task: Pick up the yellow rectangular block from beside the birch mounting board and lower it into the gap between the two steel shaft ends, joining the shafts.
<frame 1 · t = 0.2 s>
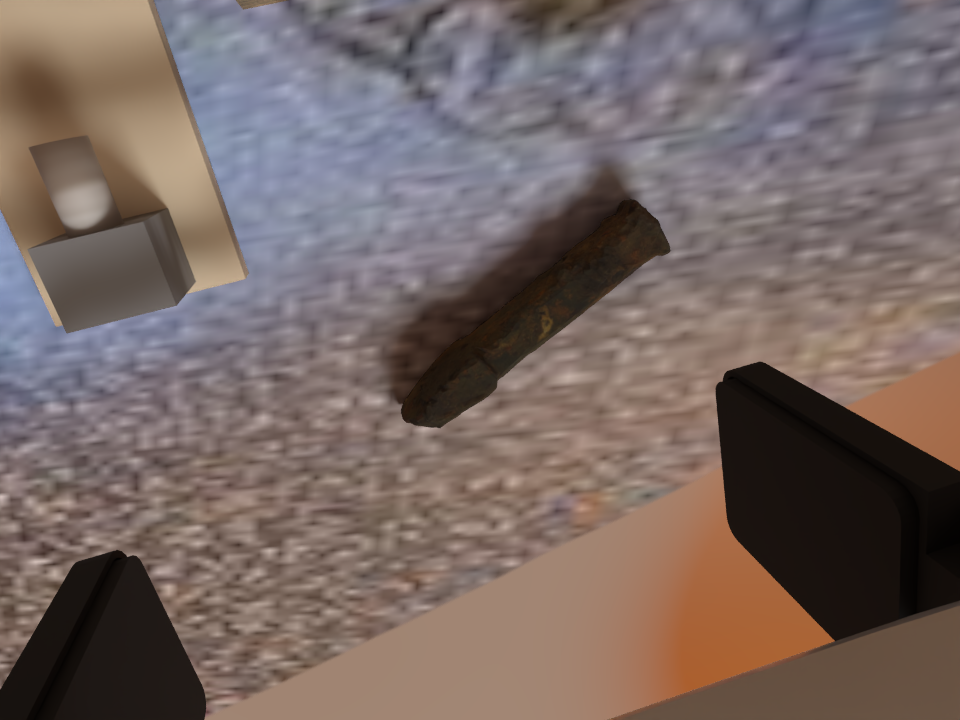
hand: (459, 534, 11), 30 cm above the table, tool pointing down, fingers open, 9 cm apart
hand tool: (522, 317, 43), on the table
shaft mount: (69, 75, 33), on the table
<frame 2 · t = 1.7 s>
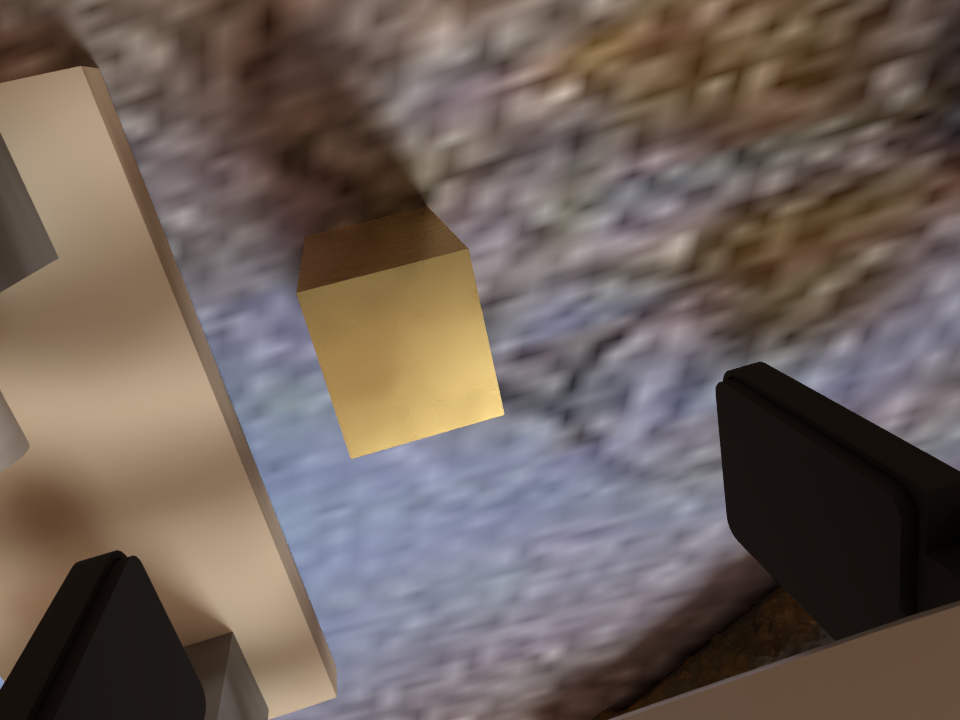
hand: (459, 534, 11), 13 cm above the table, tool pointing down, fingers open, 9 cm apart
hand tool: (686, 667, 33), on the table
shaft mount: (91, 467, 23), on the table
yellow rectangular block: (384, 285, 23), on the table
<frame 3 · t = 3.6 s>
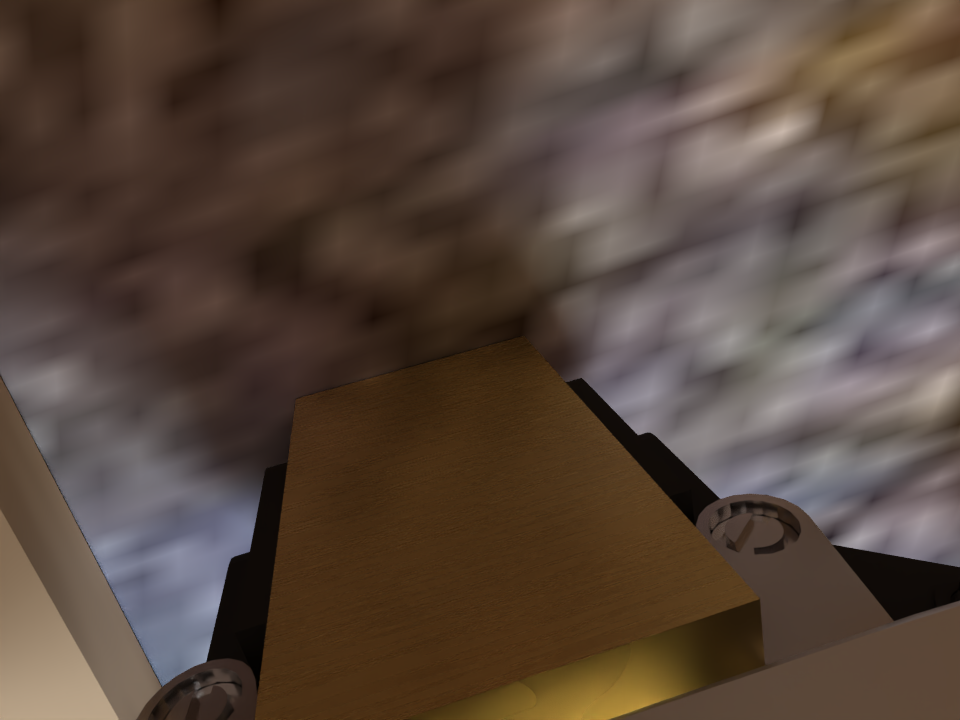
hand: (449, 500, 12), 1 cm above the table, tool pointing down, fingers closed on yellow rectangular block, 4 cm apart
yellow rectangular block: (441, 475, 12), on the table, touching gripper
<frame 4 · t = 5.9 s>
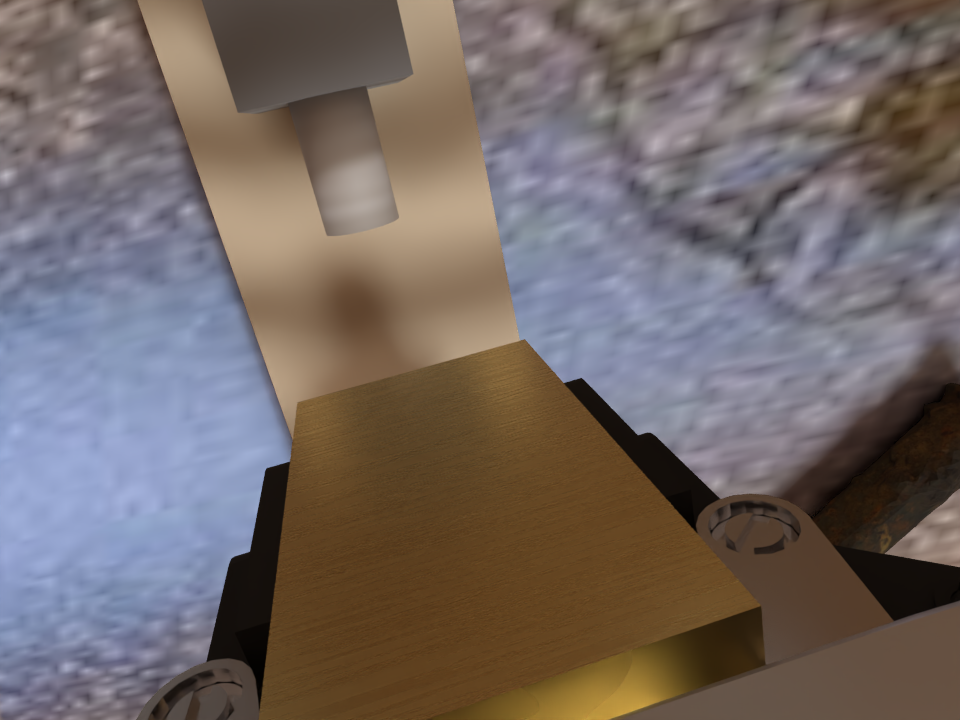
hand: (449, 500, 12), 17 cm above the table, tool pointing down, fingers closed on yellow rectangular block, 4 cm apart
hand tool: (826, 514, 37), on the table
shaft mount: (377, 279, 27), on the table
yellow rectangular block: (442, 479, 12), point 16 cm above the table, touching gripper
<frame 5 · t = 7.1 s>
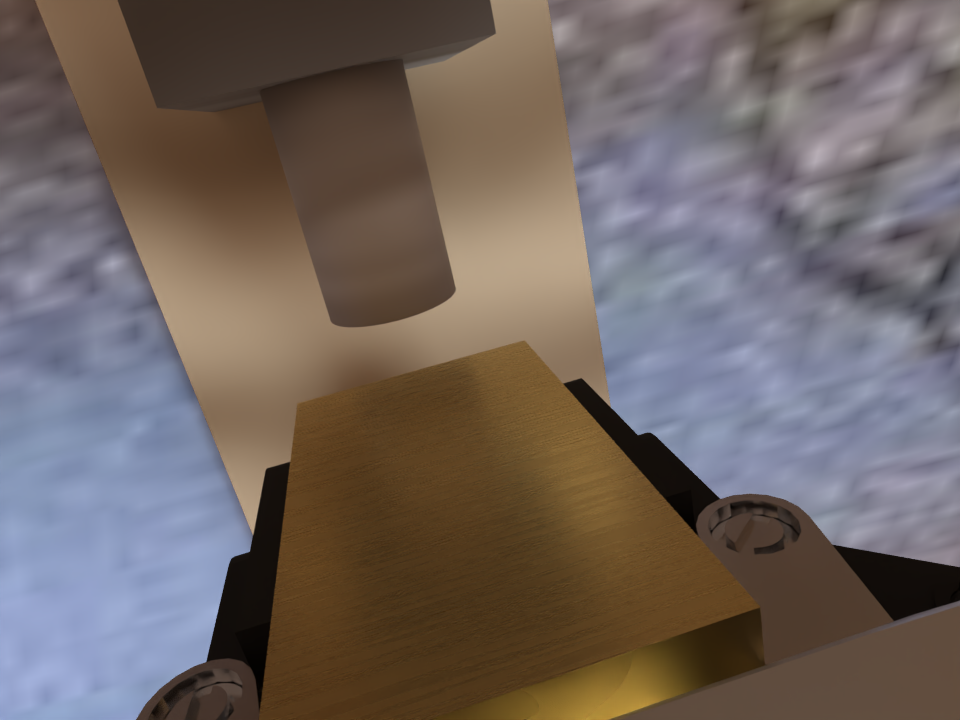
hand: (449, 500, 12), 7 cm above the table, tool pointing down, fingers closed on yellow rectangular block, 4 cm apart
shaft mount: (406, 360, 18), on the table
yellow rectangular block: (442, 479, 12), point 7 cm above the table, touching gripper
when the fingers open (3 cm above the table, at t = 8.3 s): yellow rectangular block stays where it is, resting on shaft mount.
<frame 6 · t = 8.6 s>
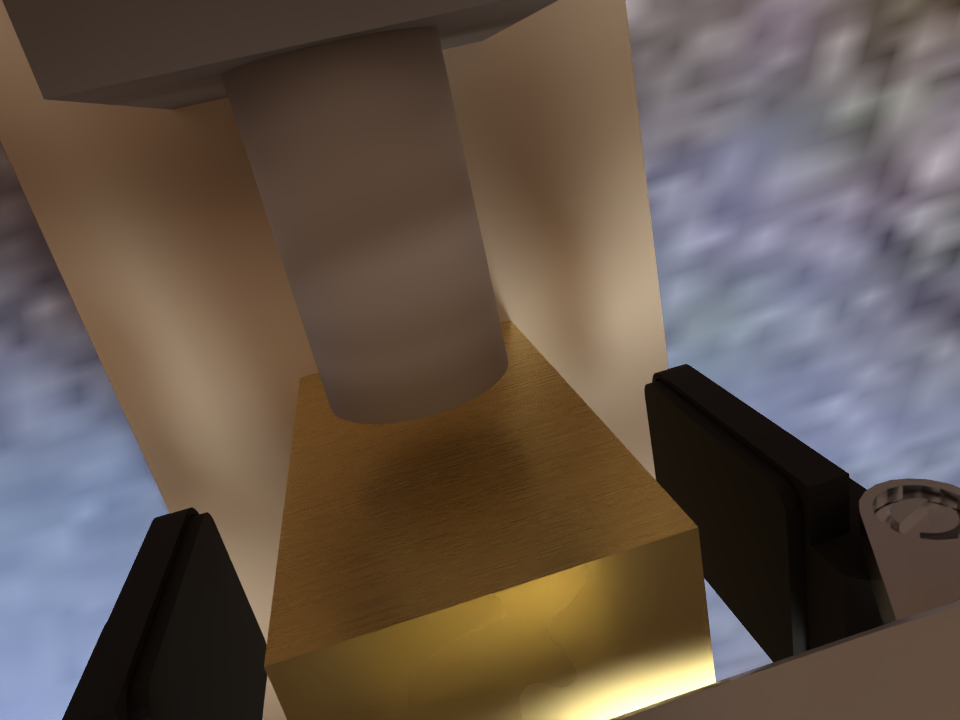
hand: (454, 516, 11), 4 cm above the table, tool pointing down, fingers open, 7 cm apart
shaft mount: (424, 422, 15), on the table
yellow rectangular block: (435, 451, 13), point 1 cm above the table, touching shaft mount
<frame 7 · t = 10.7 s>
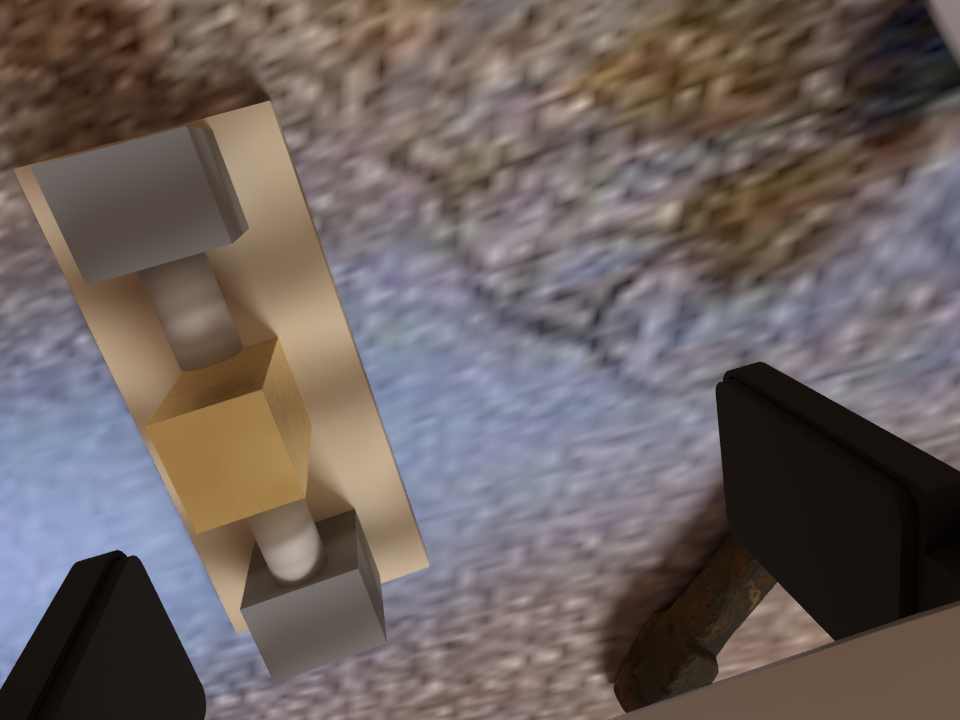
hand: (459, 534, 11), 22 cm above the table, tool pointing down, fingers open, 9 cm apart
hand tool: (713, 568, 41), on the table
shaft mount: (255, 385, 32), on the table
yellow rectangular block: (251, 395, 30), point 1 cm above the table, touching shaft mount
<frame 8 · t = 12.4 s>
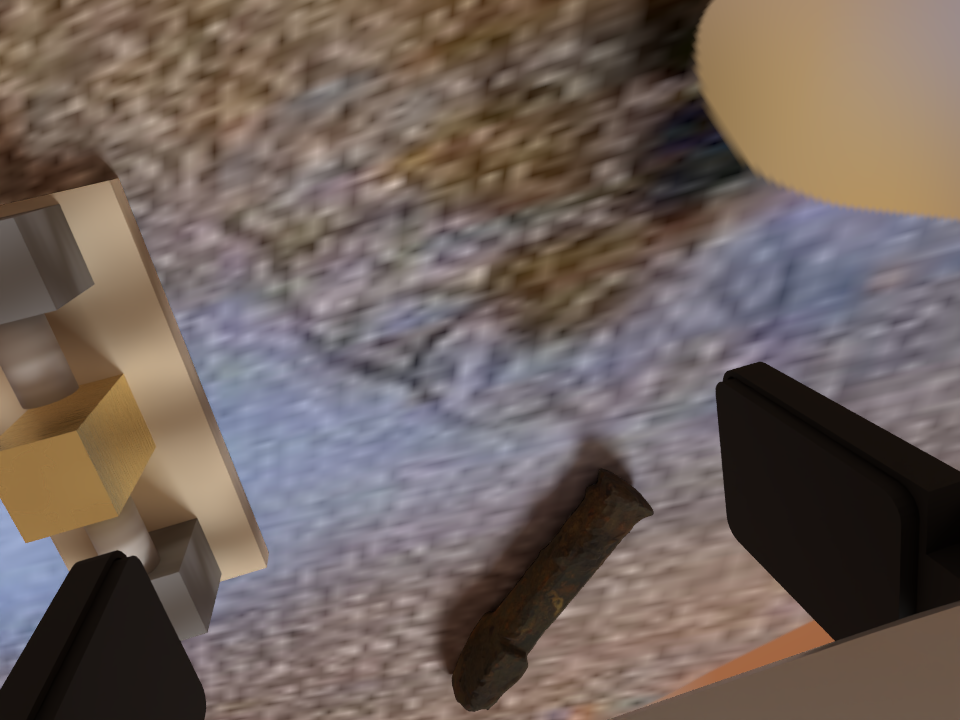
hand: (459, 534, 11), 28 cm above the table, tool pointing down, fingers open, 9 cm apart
hand tool: (537, 576, 47), on the table
shaft mount: (110, 411, 37), on the table
yellow rectangular block: (101, 421, 36), point 1 cm above the table, touching shaft mount
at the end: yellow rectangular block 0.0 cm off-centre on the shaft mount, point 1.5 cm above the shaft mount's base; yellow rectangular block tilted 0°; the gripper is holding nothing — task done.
